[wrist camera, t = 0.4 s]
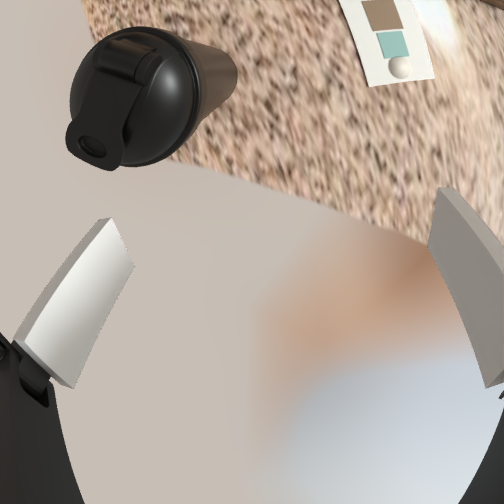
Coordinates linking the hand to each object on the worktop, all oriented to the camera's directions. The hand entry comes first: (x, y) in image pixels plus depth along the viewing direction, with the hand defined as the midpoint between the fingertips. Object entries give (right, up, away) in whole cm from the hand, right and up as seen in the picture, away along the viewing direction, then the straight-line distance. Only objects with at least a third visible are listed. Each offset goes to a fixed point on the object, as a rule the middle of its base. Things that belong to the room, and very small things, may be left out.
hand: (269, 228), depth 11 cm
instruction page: (+16, +26, +13) cm, 33 cm away
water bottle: (-7, +21, +20) cm, 30 cm away
